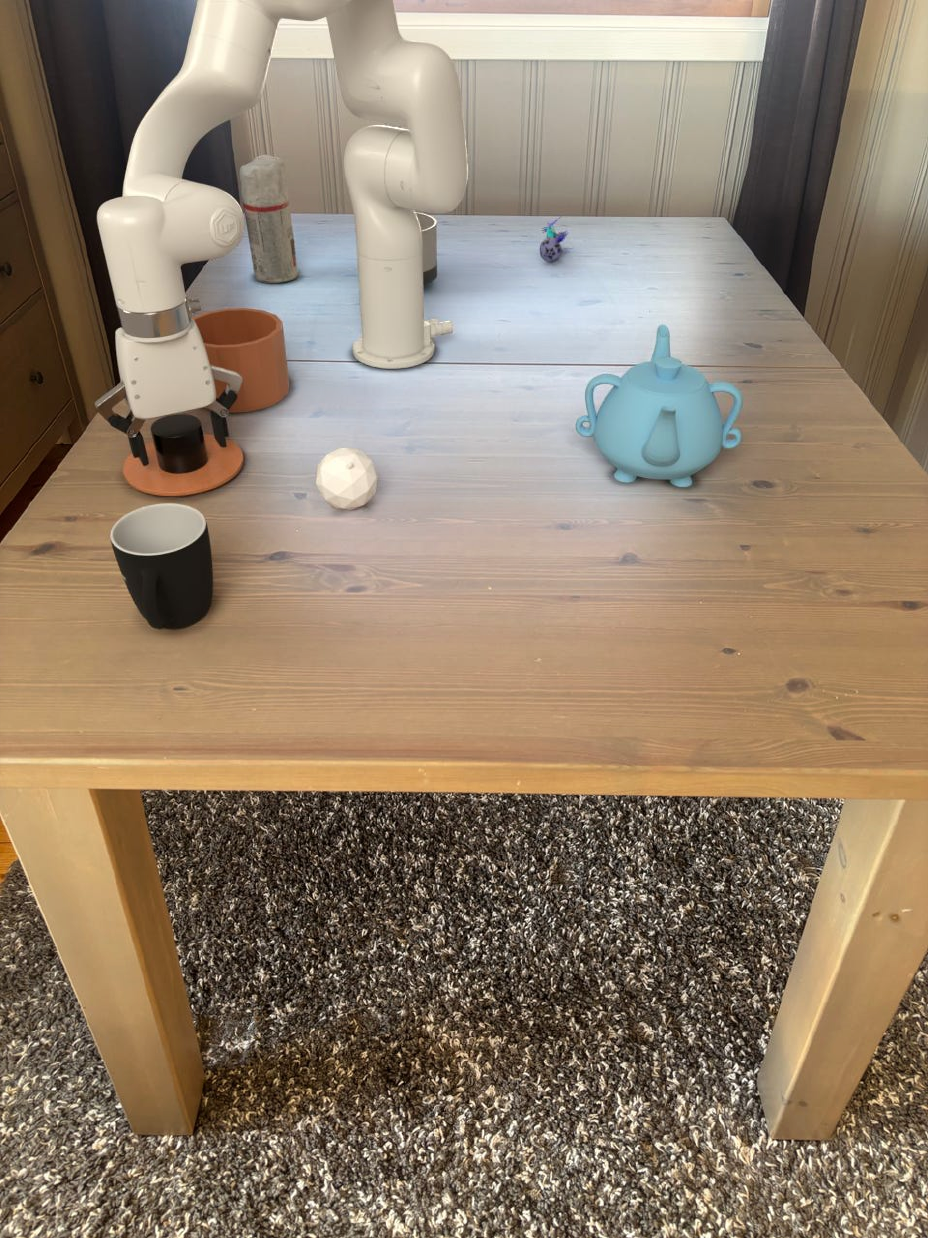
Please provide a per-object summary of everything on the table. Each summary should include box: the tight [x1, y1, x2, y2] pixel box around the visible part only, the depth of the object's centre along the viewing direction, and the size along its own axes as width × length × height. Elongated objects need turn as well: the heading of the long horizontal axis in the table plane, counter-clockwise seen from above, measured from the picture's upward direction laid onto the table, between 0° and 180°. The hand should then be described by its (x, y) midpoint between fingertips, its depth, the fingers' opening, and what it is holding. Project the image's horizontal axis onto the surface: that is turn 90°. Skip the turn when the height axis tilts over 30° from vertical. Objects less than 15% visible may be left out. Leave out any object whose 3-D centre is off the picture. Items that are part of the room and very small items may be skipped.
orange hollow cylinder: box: [192, 307, 290, 414], centre depth 132 cm, size 14×14×10 cm
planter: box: [415, 211, 438, 287], centre depth 166 cm, size 13×13×10 cm
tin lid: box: [122, 413, 244, 497], centre depth 116 cm, size 15×15×6 cm
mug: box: [109, 502, 214, 630], centre depth 92 cm, size 12×9×10 cm
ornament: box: [315, 446, 379, 511], centre depth 109 cm, size 7×7×8 cm
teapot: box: [575, 324, 744, 488], centre depth 115 cm, size 16×20×14 cm
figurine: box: [539, 216, 573, 264], centre depth 180 cm, size 7×6×12 cm
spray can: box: [239, 154, 299, 284], centre depth 164 cm, size 8×8×20 cm
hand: (182, 451), depth 116 cm, fingers open, 9 cm apart
